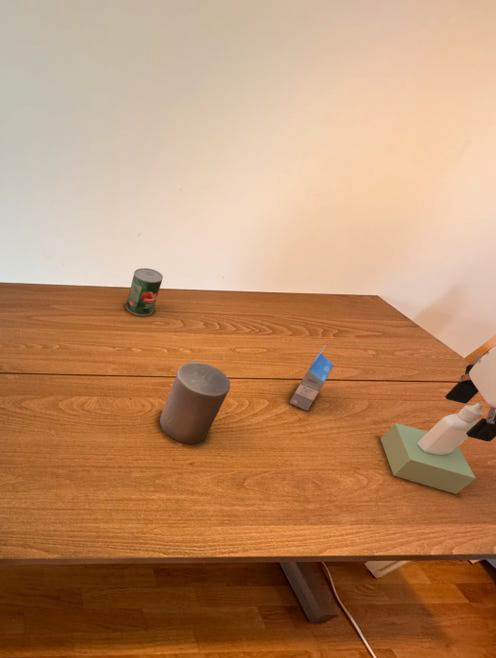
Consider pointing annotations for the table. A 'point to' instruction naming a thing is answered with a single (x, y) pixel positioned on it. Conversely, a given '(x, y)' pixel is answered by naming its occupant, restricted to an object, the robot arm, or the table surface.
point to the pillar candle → (194, 402)
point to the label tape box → (312, 382)
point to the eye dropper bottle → (450, 431)
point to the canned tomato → (144, 291)
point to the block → (424, 461)
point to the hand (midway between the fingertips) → (465, 418)
